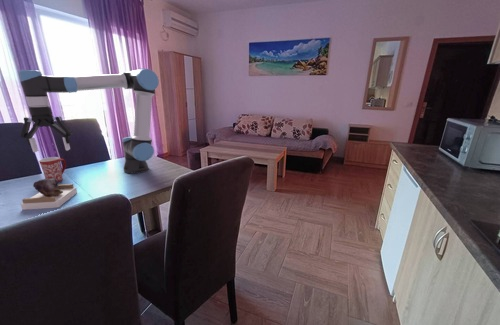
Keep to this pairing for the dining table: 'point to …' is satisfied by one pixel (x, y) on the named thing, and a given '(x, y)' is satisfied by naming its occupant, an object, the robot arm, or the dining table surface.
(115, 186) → the dining table surface
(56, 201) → the display stand
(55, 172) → the mug
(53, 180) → the rock
